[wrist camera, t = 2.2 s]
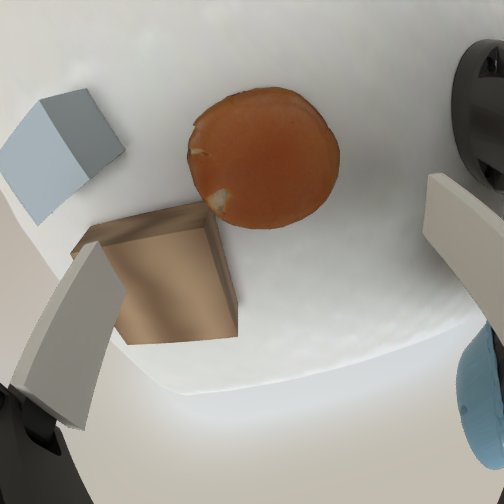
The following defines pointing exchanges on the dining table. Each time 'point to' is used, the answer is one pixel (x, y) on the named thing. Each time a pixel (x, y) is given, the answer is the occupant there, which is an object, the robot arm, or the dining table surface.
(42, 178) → the slate cube
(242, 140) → the burger
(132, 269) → the walnut block
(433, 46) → the dining table surface
